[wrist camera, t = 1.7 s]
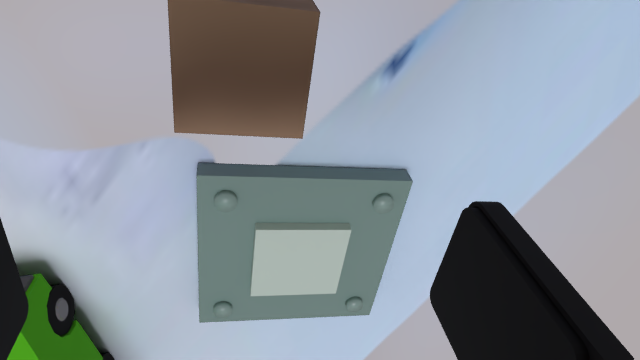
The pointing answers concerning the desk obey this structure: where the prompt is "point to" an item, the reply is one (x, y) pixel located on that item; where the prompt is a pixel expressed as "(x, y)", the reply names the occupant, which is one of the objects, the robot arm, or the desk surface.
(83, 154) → the desk surface
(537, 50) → the desk surface
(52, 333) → the toy car
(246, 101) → the walnut cube
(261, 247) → the baseplate
